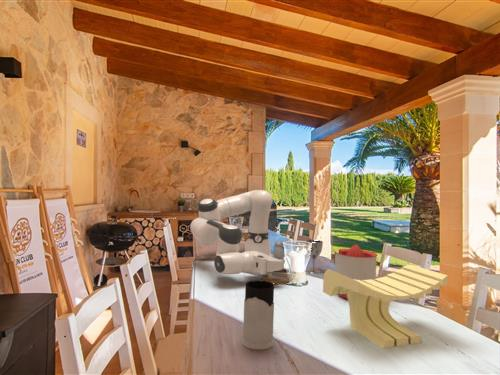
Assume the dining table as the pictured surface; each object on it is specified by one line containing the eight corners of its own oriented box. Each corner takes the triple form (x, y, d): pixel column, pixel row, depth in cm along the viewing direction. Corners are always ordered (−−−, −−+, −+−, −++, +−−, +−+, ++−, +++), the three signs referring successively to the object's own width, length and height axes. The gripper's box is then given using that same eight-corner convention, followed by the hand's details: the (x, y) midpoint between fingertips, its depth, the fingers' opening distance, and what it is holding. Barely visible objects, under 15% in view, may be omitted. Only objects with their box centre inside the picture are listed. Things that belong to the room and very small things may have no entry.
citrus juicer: (335, 287, 139) (336, 239, 139) (379, 295, 130) (381, 244, 130) (323, 296, 125) (325, 244, 125) (371, 306, 117) (373, 250, 117)
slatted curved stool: (402, 317, 108) (404, 262, 108) (445, 338, 93) (447, 275, 93) (321, 326, 98) (323, 266, 98) (355, 352, 83) (357, 281, 83)
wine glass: (323, 273, 160) (324, 242, 160) (306, 273, 160) (307, 242, 160) (319, 269, 168) (321, 240, 168) (304, 269, 168) (305, 239, 168)
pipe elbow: (277, 277, 144) (277, 242, 143) (271, 274, 148) (272, 240, 148) (292, 275, 147) (292, 241, 147) (286, 272, 151) (286, 239, 151)
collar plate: (262, 274, 154) (263, 266, 154) (293, 276, 153) (293, 267, 153) (263, 283, 140) (263, 274, 140) (296, 285, 139) (296, 275, 139)
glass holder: (236, 345, 84) (238, 286, 84) (252, 324, 98) (254, 273, 98) (269, 352, 82) (272, 291, 82) (281, 329, 95) (283, 277, 95)
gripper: (241, 263, 150) (268, 261, 156) (264, 275, 132) (293, 272, 138) (242, 249, 150) (268, 248, 156) (264, 259, 132) (293, 257, 138)
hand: (280, 259), depth 147 cm, fingers closed on pipe elbow, 4 cm apart
